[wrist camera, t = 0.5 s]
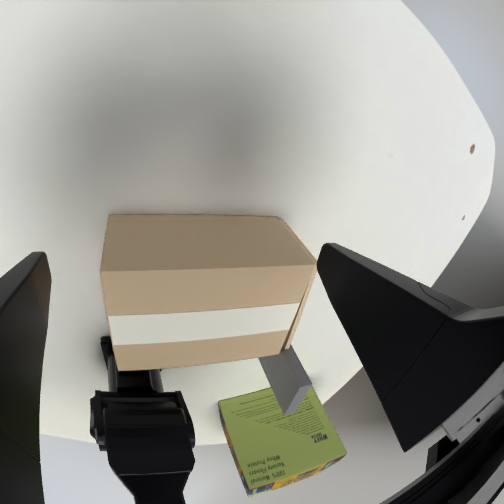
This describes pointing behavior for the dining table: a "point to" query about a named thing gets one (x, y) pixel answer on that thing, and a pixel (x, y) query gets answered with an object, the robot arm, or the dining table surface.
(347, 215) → the dining table surface
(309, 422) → the protein box
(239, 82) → the dining table surface
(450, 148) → the dining table surface
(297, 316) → the grey and tan blocks
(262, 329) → the carton
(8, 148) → the dining table surface
